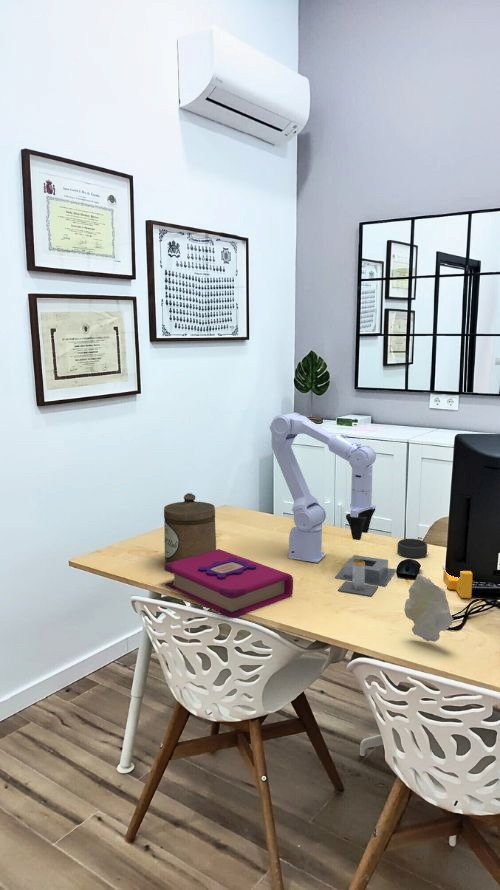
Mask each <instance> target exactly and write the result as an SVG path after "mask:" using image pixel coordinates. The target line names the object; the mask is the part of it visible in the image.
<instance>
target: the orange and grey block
mask: <svg viewBox="0 0 500 890" xmlns="http://www.w3.org/2000/svg"><path fill="white" fill-rule="evenodd" d="M364 579H365V562H364V560H363V559H353V572H352V581H351V582H352V587H353V589H354V590H364Z"/></svg>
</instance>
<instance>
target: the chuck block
mask: <svg viewBox="0 0 500 890" xmlns="http://www.w3.org/2000/svg"><path fill="white" fill-rule="evenodd" d="M353 559H363V560H364V562H365V579H364V584H367V585H373V586H378V587H386V586H387V584H388V583H389V582H390V580H391V579H392V577H394V575H395V573H396V572H397V570H396V569H395V568H390V567H389V559H383V558H378V557H377V558H376V557H369V556H362V555H357V554H353V555H352V556H351V557H350V559H348V561H346V562H345V564H344V565H343V568H342V569H340V571H339V572H338V573H337V574H336V575H334V579H337V580H343V581H348V582H352V572H353Z"/></svg>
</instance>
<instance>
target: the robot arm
mask: <svg viewBox="0 0 500 890" xmlns="http://www.w3.org/2000/svg"><path fill="white" fill-rule="evenodd" d="M269 430H270V432H271V448H272V452H273V454H274V456H275V458H276V461H277V464H278V466H279V468H280V471H281V473H282V475H283V478H284V480H285V483H286V485H287V487H288V490H289V492H290V494H291V497H292V499H293V505H292V509H291V510H292V514H293V523H294V525H295V526H292V527H291V529H290V531H289V537H288V556H287V558H288V559H290V560H298V561H306V562H310V563H319V562H320V561H322V559H323V558H325V557H326V555H327V553H325V552H323V550H322V547H323V544H322V543H323V541H322V540H323V523H324V522H325V520H326V519H327V513H326V510H325V508H324V507H323V506H322V505H321V503H319V502H320V501H319V500H318V498H316V497H315V496H314V495H313V494H311V491H310V489H309V486H308V484H307V482H306V479H305V477H304V475H303V472H302V470H301V467H300V464H299V462H298V460H297V458H296V455H295V453H294V450H293V449H292V445H293V443H294V441H295V439H296V438H297V436H298V435H300V434H305V435H307V436H308V437H311V438H313V439H315V440H316V441H318V442H320V443H323V444H325V445H327V447H328V448H327V449H328V450H329V451H330V452H331V453H332V454H334V455H337V456H338V457H339V458H341V459H343V460H345V461H347V462H348V463H349V465H350V467H351V485H350V487H351V489H350V490H351V492H350V494H351V495H350V506H349V508H350V511H349V512H350V513H347V514H345V518H346V521H347V523H348V524H349V528H350V533H351V537H352V540H353V541H354V540H355V541H356V540H357V541H361V539H362V536H363V534H368V532H369V528H370V526H371V521H372V518H373V515H374V513H375V512H376V505H375V504H372V497H373V495H372V494H373V492H372V491H373V464H374V463H375V461H376V459H377V456H376V452H375V450H374V449H373V448H372V447H371V446H369V445H362V443H361V442H356V441H354V440H352V439H350V438H348V435H347V434H346V433H336V434H333V433H331V432H330V431H328V430H326V429H325V428H323V427H322V426H321V425H318V424H317V423H315V422H313V421H312V420H310V419H309V418H308V417H307V416H305V415H301V414H300V413H298V412H290V413H286V414H278V415H276V416H274V417H273V419H272V421H271V423H270V426H269Z"/></svg>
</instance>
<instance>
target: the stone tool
mask: <svg viewBox="0 0 500 890" xmlns="http://www.w3.org/2000/svg"><path fill="white" fill-rule="evenodd" d="M408 593H409V595H408V597H409V598H406V601H405V603H404V615H405V617H406V618H407V619H409V620H411V621H412V622H413V623H414V624H413V627H411V631H412V633H413V635H416V636H417V637H420V638H421V639H423V640H424V641H427V642H429V641H431V642H434V643H435V642H437V641H438V640H439V639H440V636H441V635H440V632H441V631H444V632H445V631H447V630H448V629H449V627H451V626H452V625H453V621H454V617H453V616H452V614H451V612H450V611H451V610H450V609H451V608H450V606H449V601H448V600H447V599H448V598H447V594H446V592H445V589H444V588H442V587H440V586H439V585H436V584H435V583H434V582H433V581H432V579H430V578H428V577H425V576H423V575H422V574H421V573H418V574H417V575H416V577H415V579H414V581H413V583H412V584H411V585H410V587H409V589H408Z"/></svg>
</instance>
